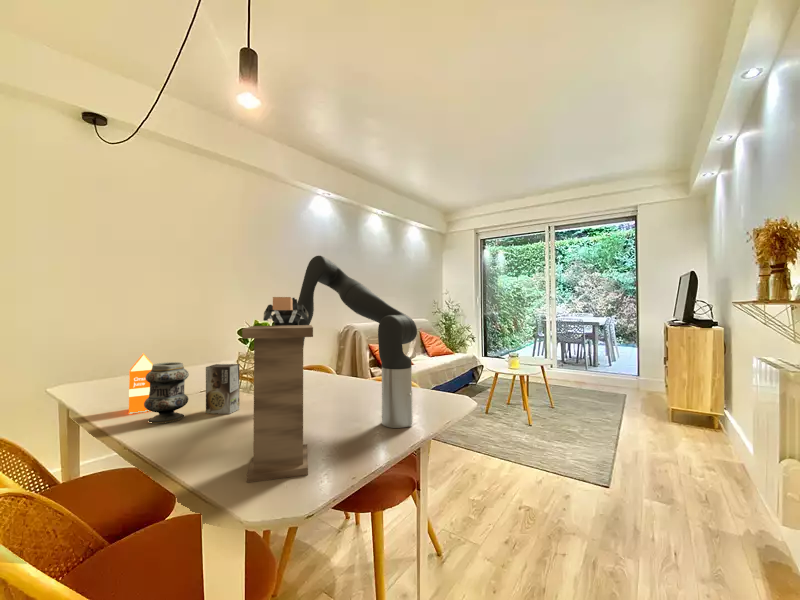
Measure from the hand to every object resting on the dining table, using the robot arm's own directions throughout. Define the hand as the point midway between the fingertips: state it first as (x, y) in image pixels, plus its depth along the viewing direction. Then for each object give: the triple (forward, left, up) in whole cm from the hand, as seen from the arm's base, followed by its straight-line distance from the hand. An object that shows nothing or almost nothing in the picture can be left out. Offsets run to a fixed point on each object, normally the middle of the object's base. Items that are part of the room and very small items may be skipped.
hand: (285, 300), depth 103 cm
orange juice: (+61, -20, -38) cm, 74 cm away
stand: (-7, +20, -38) cm, 44 cm away
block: (-2, +7, -3) cm, 8 cm away
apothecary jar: (+44, -10, -38) cm, 59 cm away
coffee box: (+31, -20, -38) cm, 53 cm away
